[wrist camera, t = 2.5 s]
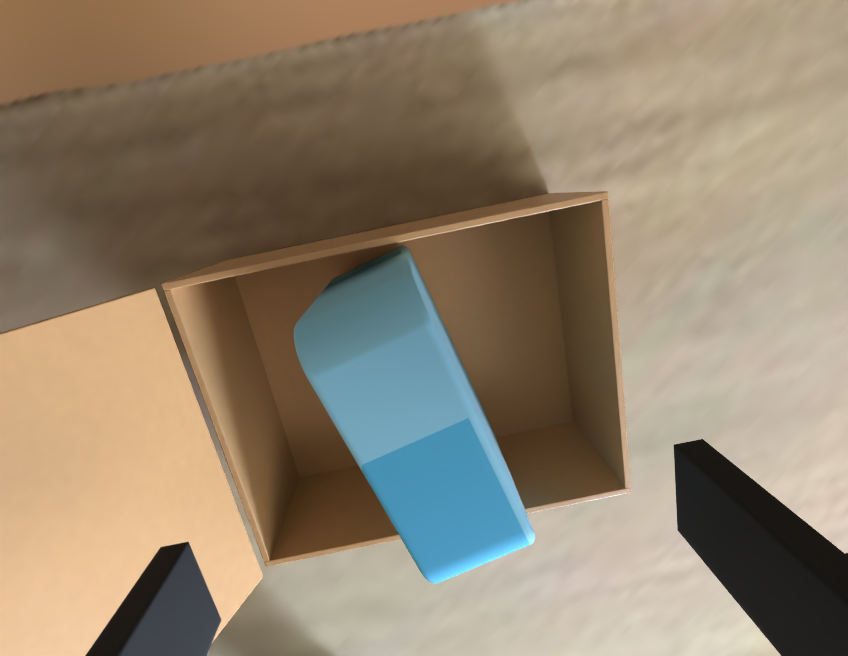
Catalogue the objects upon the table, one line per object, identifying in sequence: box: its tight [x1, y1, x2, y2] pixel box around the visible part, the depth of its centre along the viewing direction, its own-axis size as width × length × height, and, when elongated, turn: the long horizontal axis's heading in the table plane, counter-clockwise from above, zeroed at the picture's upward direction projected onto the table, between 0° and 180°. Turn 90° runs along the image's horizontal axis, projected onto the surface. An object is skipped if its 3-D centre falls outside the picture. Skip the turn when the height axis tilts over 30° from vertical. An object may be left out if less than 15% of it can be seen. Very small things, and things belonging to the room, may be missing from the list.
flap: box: [0, 288, 263, 656], centre depth 16 cm, size 9×14×1 cm
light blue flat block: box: [294, 246, 535, 583], centre depth 21 cm, size 12×4×12 cm, turn 25°
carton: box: [161, 192, 631, 566], centre depth 24 cm, size 19×15×7 cm
